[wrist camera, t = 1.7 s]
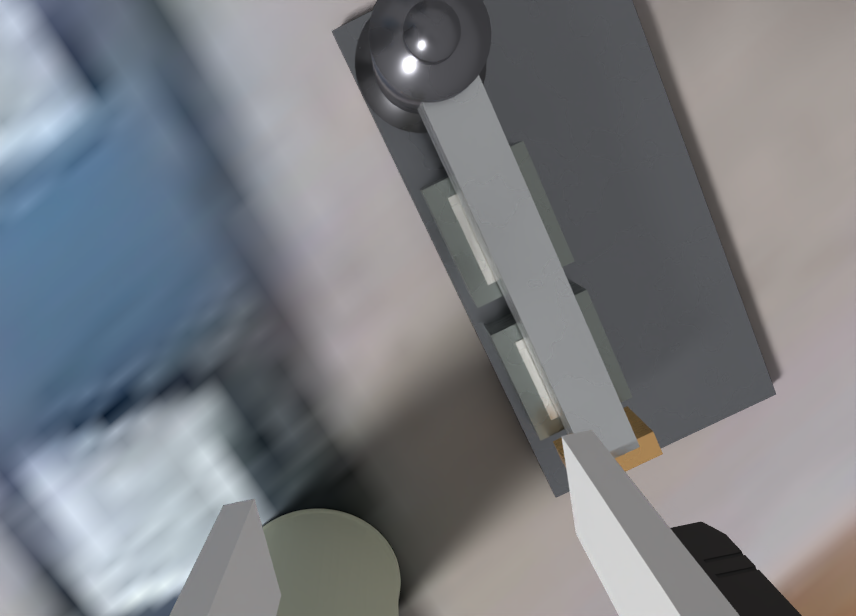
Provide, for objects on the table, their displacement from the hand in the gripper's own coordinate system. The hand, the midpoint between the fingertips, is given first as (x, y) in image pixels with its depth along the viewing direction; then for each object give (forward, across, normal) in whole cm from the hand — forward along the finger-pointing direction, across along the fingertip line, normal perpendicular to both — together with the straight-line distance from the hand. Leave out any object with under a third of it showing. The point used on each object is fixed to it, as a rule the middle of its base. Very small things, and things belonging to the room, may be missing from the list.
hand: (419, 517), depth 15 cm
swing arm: (+16, +6, +4) cm, 17 cm away
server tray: (+17, +9, +4) cm, 20 cm away
